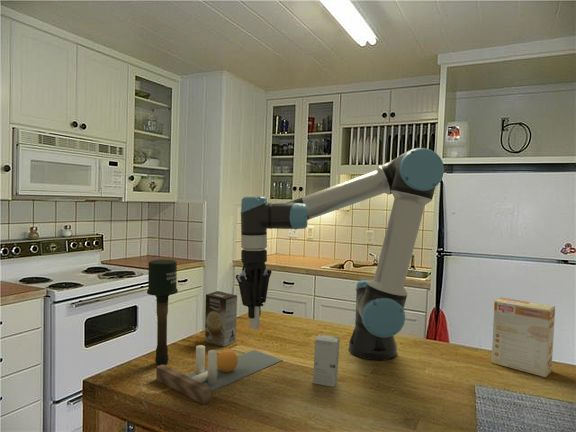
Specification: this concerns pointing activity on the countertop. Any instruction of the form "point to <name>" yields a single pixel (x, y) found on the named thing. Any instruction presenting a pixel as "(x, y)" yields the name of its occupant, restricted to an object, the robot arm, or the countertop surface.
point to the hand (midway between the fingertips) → (254, 328)
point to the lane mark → (242, 368)
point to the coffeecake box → (523, 336)
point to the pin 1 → (200, 359)
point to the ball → (227, 361)
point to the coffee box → (220, 318)
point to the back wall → (184, 384)
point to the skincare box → (326, 360)
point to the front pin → (201, 377)
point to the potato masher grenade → (162, 300)
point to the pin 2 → (212, 367)
